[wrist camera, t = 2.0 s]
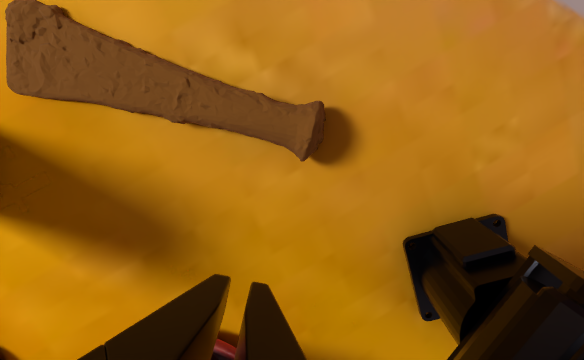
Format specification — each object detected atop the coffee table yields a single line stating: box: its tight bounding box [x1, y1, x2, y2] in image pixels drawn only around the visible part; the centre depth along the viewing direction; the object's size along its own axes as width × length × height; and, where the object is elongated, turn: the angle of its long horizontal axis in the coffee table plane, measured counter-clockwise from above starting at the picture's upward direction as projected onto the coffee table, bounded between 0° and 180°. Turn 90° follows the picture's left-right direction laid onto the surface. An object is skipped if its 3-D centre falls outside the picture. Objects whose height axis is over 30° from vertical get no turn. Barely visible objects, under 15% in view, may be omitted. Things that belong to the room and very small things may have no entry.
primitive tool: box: [5, 0, 326, 161], centre depth 18 cm, size 19×6×4 cm, turn 77°
